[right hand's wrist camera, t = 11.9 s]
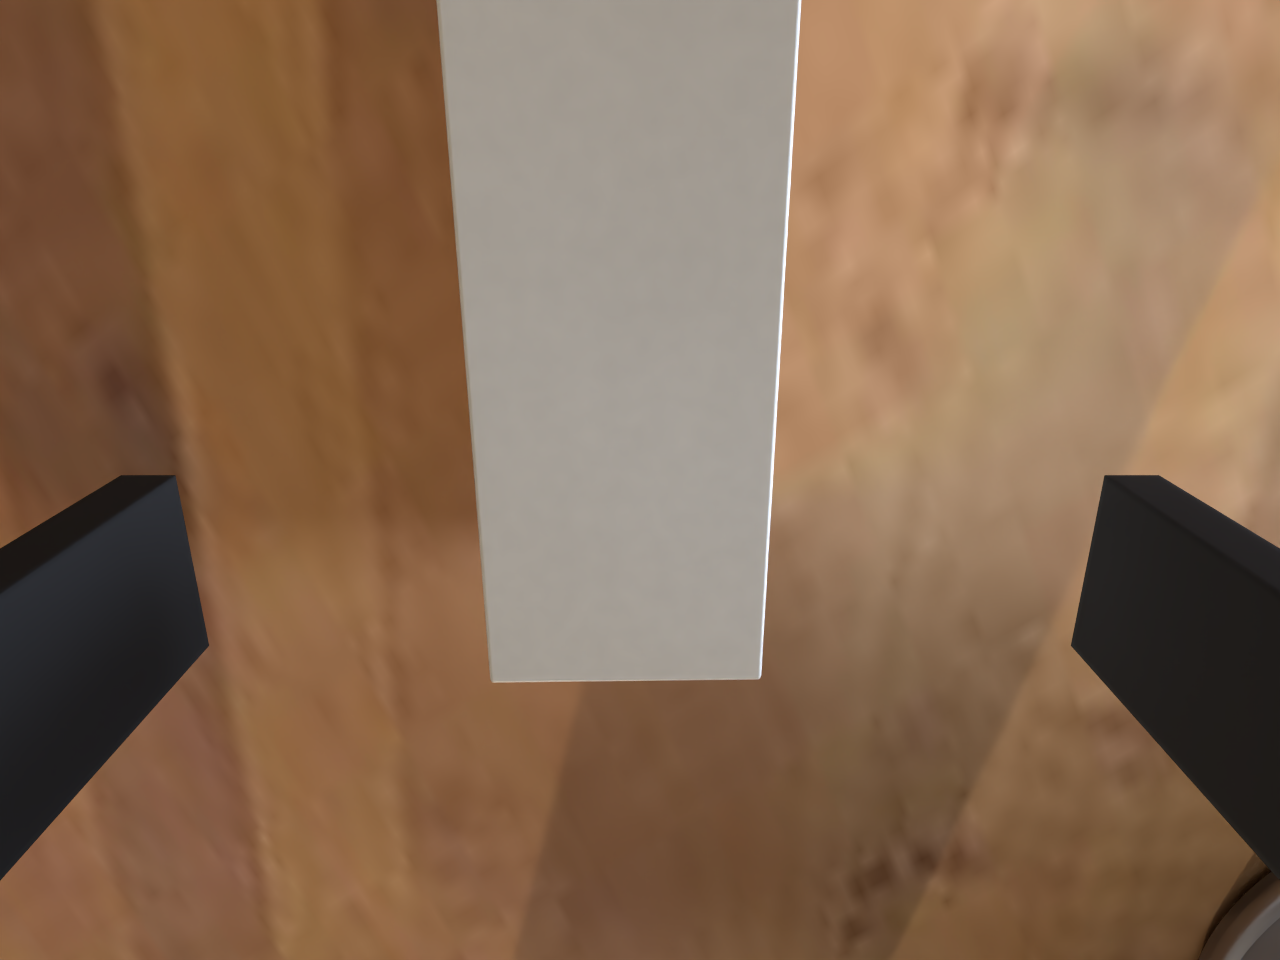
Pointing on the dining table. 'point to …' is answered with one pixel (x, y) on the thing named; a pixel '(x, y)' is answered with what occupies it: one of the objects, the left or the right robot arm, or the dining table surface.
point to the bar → (621, 323)
